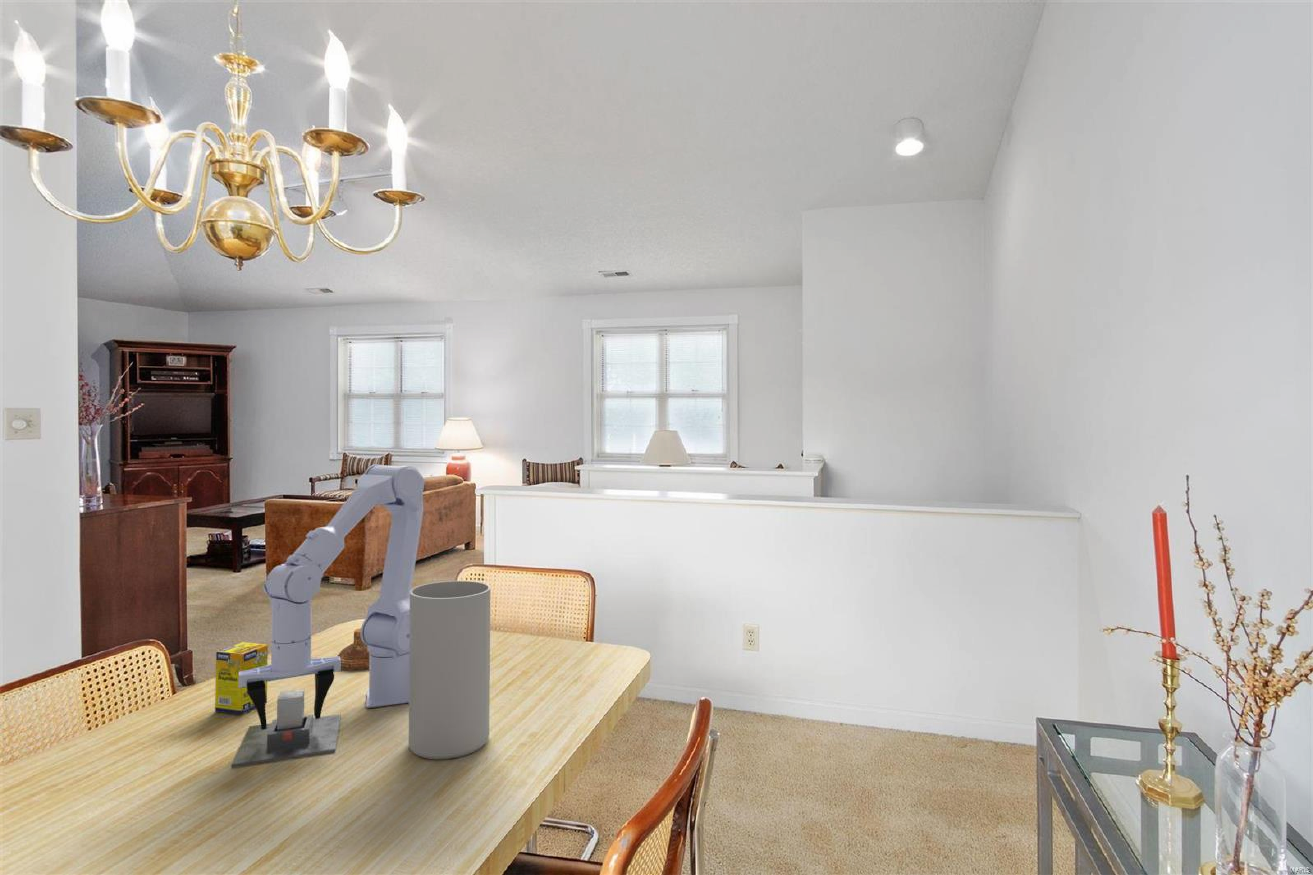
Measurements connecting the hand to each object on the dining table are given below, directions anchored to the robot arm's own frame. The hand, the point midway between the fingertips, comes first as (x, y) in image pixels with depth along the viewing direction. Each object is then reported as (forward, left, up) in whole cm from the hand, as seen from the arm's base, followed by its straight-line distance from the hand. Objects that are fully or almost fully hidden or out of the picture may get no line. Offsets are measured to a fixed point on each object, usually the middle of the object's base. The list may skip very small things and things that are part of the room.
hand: (290, 721), depth 109 cm
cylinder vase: (-24, +10, -3) cm, 26 cm away
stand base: (0, 0, -3) cm, 3 cm away
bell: (-10, -37, -3) cm, 38 cm away
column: (0, 0, -3) cm, 3 cm away
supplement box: (+10, -18, -3) cm, 21 cm away
